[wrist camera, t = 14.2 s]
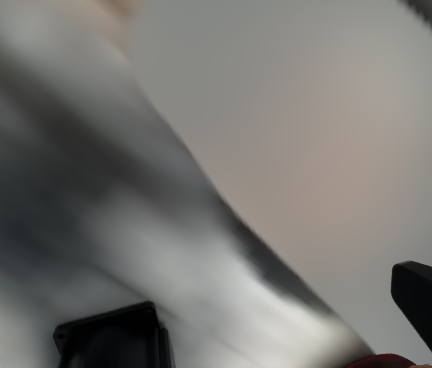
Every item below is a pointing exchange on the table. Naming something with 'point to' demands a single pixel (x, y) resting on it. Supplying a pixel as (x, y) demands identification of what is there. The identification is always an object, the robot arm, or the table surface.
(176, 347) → the table surface
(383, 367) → the decorative planter
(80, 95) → the table surface
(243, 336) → the table surface
